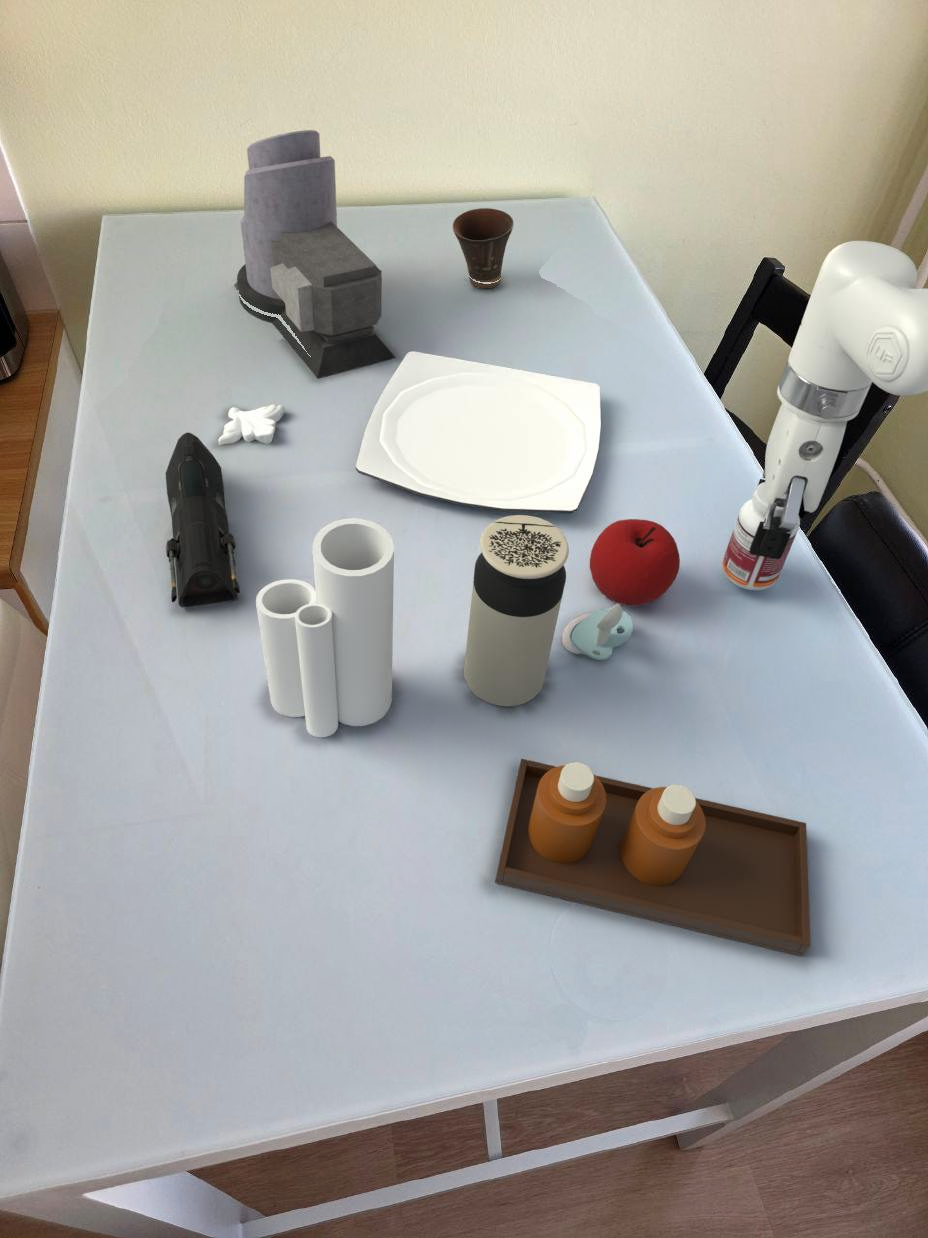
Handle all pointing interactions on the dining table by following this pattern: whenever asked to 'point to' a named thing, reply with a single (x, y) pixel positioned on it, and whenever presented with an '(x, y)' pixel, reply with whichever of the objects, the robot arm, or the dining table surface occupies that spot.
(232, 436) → the acanthus leaf ornament
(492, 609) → the travel mug
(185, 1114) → the dining table surface
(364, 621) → the vase
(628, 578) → the apple
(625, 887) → the tray
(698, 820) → the amber bottle middle
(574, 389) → the plate
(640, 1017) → the dining table surface
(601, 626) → the pacifier
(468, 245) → the cup
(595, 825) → the amber bottle far
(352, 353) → the juicer
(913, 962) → the dining table surface
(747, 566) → the pill bottle
